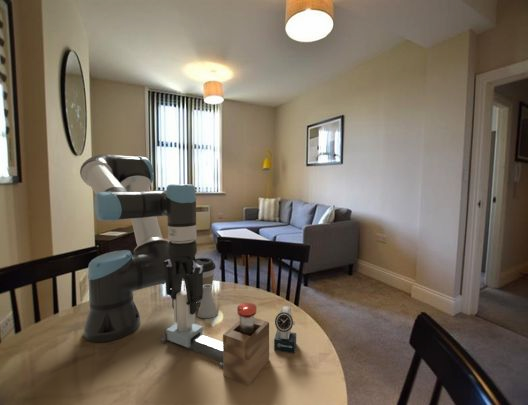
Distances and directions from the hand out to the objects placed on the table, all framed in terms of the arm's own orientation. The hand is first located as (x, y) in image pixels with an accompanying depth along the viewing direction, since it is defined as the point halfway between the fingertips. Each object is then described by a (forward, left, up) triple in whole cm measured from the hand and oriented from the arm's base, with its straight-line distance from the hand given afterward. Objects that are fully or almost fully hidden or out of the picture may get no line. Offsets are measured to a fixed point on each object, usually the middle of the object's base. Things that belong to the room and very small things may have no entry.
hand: (184, 321), depth 74 cm
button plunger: (+21, 0, +3) cm, 21 cm away
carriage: (0, 0, -5) cm, 5 cm away
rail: (+5, 0, -6) cm, 8 cm away
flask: (-5, +16, -6) cm, 18 cm away
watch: (+26, +12, -6) cm, 29 cm away
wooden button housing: (+21, 0, -6) cm, 22 cm away
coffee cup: (-15, +24, -6) cm, 29 cm away
